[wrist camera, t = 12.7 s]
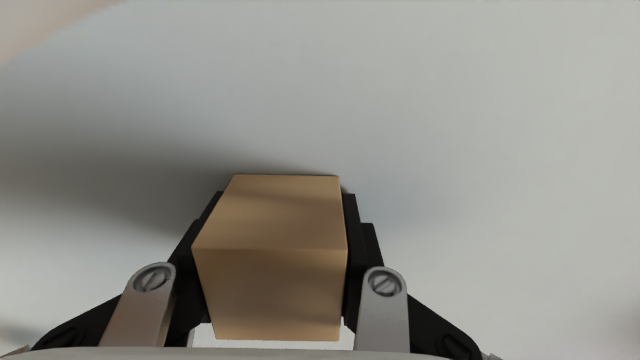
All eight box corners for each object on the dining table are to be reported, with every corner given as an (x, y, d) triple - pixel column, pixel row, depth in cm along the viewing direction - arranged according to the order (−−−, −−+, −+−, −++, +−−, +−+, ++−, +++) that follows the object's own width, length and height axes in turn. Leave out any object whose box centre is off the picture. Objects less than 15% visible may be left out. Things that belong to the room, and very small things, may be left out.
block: (245, 251, 13) (215, 340, 10) (234, 173, 11) (189, 246, 7) (334, 253, 13) (339, 342, 10) (339, 175, 11) (348, 250, 8)
